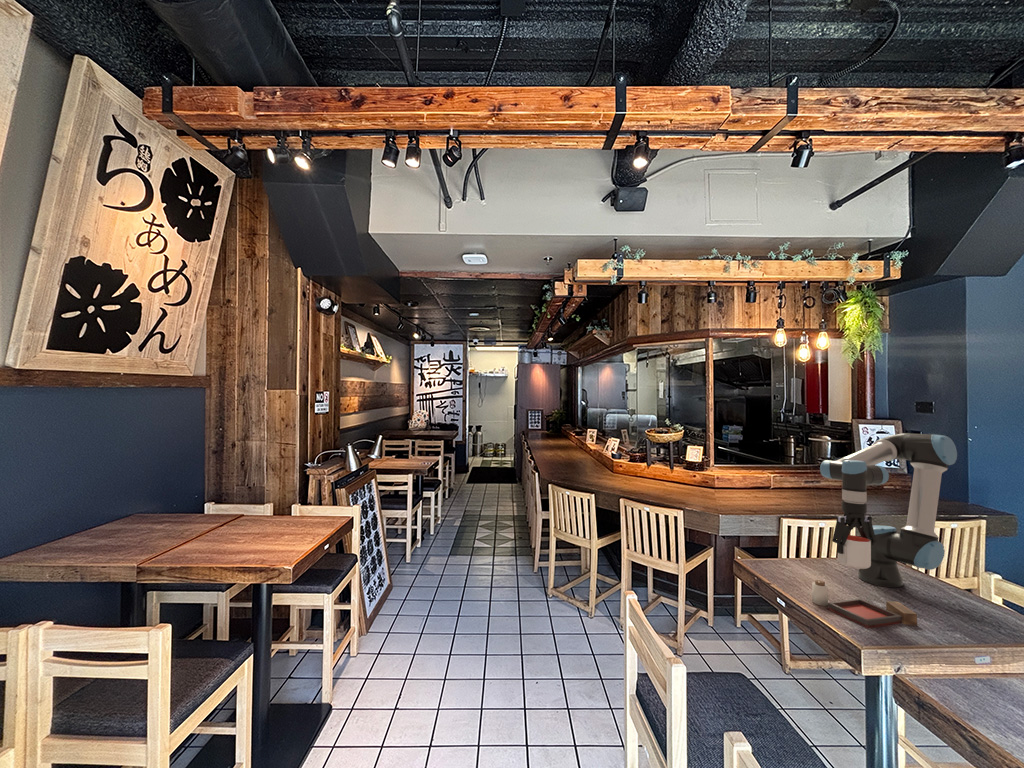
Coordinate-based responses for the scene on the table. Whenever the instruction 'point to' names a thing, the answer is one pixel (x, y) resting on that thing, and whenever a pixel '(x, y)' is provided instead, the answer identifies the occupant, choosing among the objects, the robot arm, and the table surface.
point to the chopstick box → (902, 612)
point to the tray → (864, 613)
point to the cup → (858, 552)
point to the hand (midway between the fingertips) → (854, 561)
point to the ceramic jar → (820, 593)
